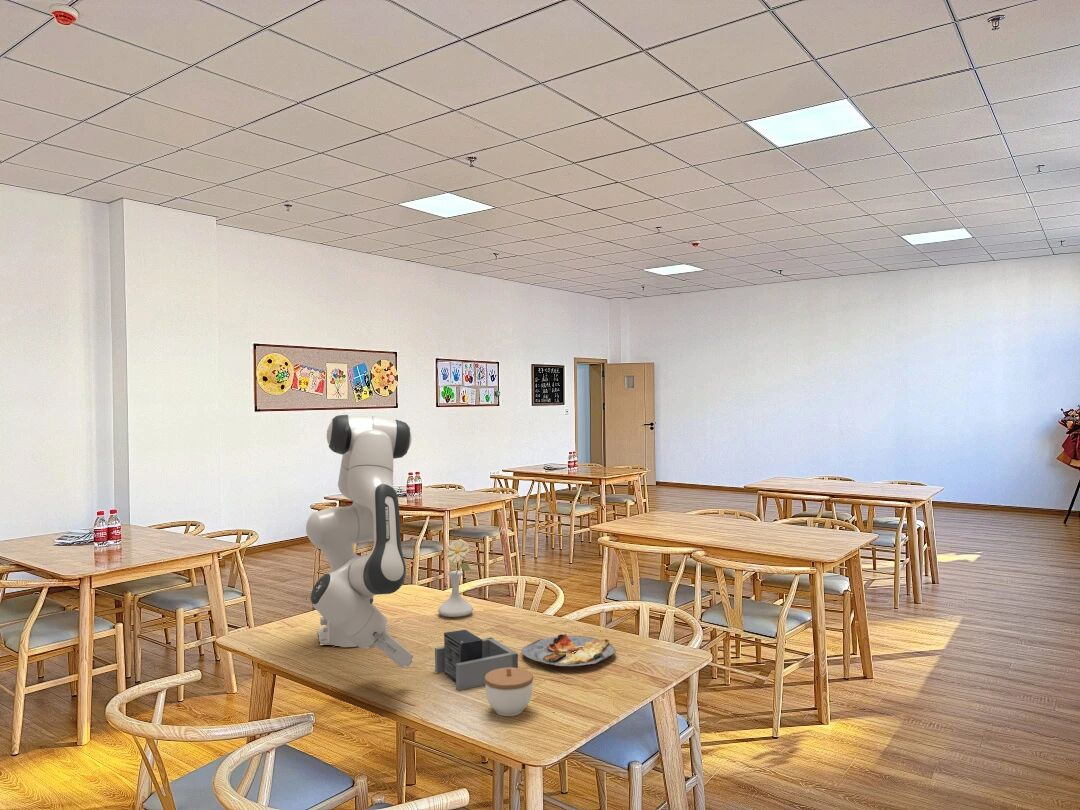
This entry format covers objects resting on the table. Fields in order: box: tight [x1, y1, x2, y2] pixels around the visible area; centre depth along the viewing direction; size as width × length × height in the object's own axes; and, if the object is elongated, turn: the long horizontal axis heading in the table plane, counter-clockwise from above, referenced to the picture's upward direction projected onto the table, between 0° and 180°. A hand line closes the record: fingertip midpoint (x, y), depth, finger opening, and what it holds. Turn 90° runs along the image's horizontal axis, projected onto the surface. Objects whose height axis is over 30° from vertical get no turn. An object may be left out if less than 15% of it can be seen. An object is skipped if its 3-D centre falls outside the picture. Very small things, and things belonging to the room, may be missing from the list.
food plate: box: [521, 633, 617, 669], centre depth 200 cm, size 25×23×4 cm
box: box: [434, 637, 519, 691], centre depth 187 cm, size 15×16×6 cm
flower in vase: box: [437, 538, 474, 618], centre depth 240 cm, size 13×11×25 cm
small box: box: [443, 629, 483, 683], centre depth 185 cm, size 11×6×10 cm, turn 30°
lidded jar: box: [484, 667, 534, 717], centre depth 165 cm, size 11×11×9 cm
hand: (408, 662), depth 178 cm, fingers closed
